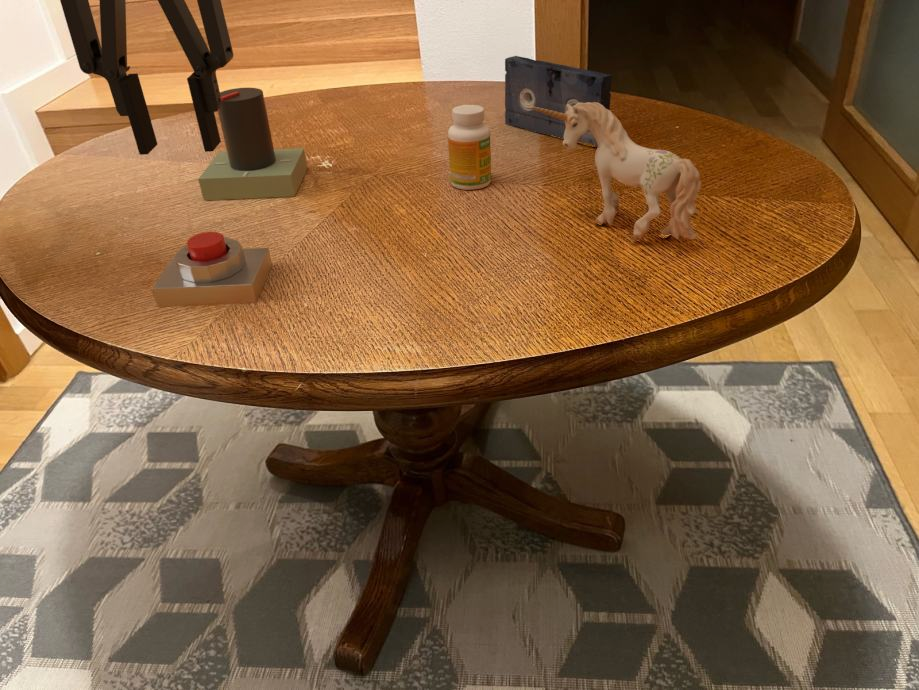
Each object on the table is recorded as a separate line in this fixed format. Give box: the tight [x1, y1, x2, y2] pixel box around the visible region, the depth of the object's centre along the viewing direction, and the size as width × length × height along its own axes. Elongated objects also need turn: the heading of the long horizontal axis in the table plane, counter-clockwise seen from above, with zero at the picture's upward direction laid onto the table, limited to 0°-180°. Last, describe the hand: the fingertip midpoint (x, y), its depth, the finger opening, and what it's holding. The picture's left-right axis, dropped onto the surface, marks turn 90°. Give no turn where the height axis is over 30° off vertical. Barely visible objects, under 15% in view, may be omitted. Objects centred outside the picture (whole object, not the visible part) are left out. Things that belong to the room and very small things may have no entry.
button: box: [186, 231, 227, 261], centre depth 74 cm, size 4×4×2 cm
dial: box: [217, 87, 276, 171], centre depth 95 cm, size 6×6×9 cm
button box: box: [151, 236, 273, 308], centre depth 75 cm, size 10×8×4 cm
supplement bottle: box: [447, 104, 492, 191], centre depth 94 cm, size 5×5×10 cm
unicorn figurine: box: [531, 102, 702, 242], centre depth 80 cm, size 7×20×13 cm, turn 55°
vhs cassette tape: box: [504, 55, 613, 146], centre depth 108 cm, size 18×3×10 cm, turn 42°
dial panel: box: [197, 147, 308, 201], centre depth 99 cm, size 12×10×3 cm
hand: (180, 147), depth 68 cm, fingers open, 5 cm apart
